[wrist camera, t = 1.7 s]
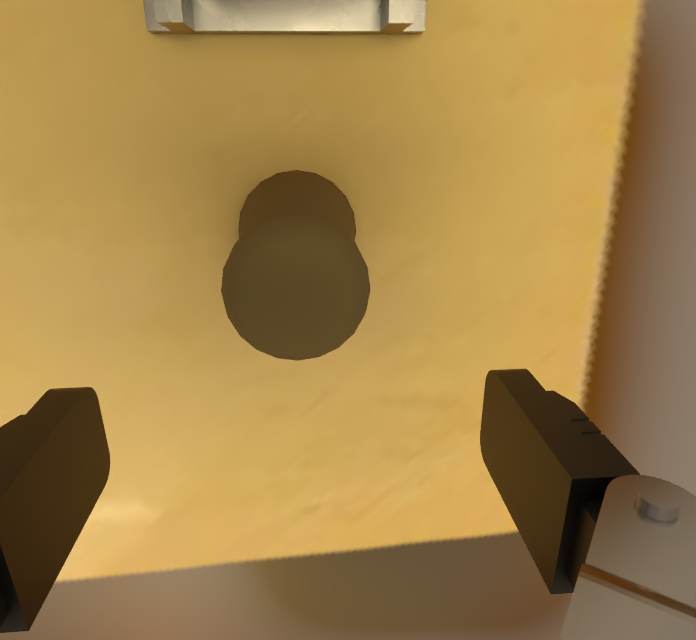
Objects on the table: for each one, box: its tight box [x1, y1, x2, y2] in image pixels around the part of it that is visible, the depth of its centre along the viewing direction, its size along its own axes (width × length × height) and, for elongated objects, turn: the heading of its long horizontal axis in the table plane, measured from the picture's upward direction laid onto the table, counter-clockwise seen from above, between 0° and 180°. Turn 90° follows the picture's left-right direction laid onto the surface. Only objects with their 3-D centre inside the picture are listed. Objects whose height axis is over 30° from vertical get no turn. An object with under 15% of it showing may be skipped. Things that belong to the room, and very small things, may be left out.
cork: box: [221, 170, 370, 360], centre depth 22 cm, size 6×6×11 cm
